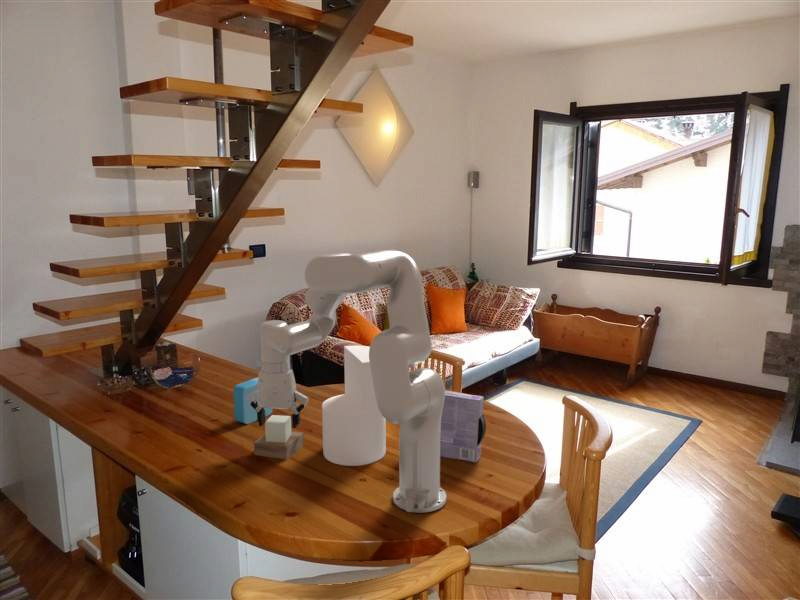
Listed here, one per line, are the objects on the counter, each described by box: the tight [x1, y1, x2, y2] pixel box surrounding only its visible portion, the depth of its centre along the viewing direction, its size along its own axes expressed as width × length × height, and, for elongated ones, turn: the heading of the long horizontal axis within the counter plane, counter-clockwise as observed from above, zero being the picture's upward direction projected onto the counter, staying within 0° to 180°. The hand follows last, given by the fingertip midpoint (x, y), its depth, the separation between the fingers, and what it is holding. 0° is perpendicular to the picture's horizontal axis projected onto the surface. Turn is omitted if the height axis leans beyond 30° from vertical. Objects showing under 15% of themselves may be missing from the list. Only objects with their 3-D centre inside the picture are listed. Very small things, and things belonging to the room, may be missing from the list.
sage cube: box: [264, 414, 292, 443], centre depth 168 cm, size 6×6×6 cm
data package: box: [233, 376, 274, 425], centre depth 191 cm, size 12×4×12 cm, turn 146°
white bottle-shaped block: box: [321, 345, 387, 467], centre depth 165 cm, size 17×17×28 cm
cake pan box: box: [440, 390, 487, 463], centre depth 164 cm, size 19×5×18 cm, turn 68°
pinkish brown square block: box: [253, 430, 305, 460], centre depth 169 cm, size 10×10×4 cm
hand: (278, 425), depth 168 cm, fingers open, 9 cm apart
